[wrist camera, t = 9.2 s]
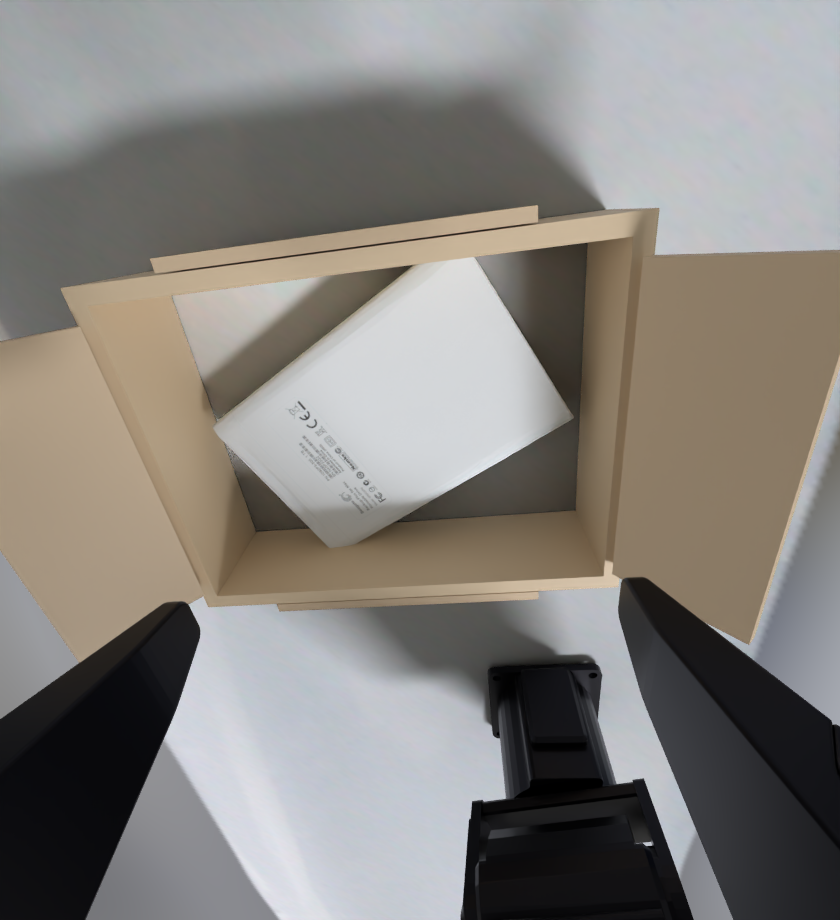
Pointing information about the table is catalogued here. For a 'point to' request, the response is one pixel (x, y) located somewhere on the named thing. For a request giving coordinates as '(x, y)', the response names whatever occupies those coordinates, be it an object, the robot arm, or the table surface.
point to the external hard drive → (396, 404)
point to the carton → (402, 543)
